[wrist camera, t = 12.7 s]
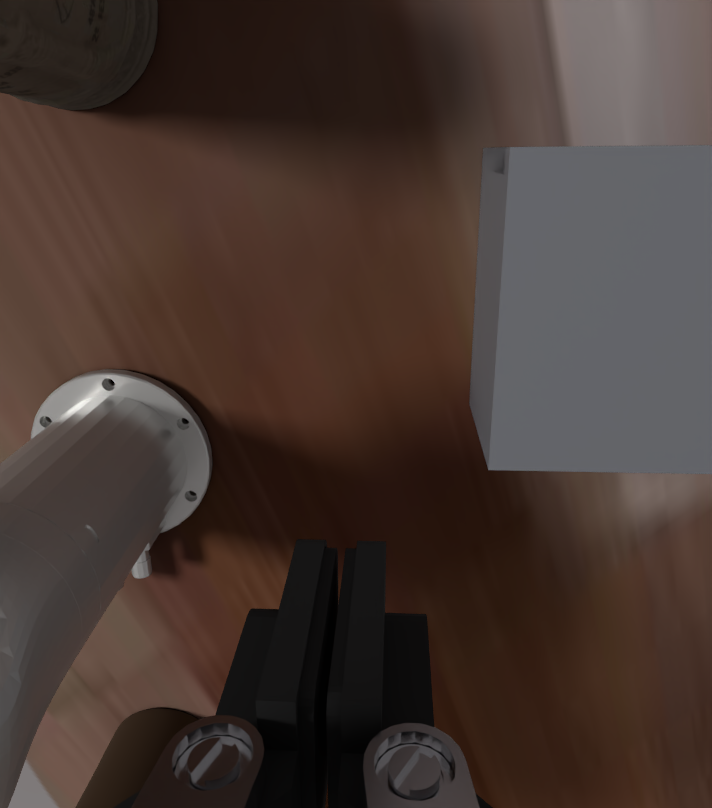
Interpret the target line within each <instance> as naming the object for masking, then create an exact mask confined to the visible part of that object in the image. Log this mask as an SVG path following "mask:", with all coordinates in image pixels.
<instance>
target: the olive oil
mask: <svg viewBox="0 0 712 808" xmlns="http://www.w3.org/2000/svg"><path fill="white" fill-rule="evenodd" d="M197 720H198V719H197V718H195V717H193V716H191V715H189V714H186V713H184V712H181V711H177V710H173V709H165V708H155V709H147V710H143V711H140V712H137V713H135V714H133V715H131V716H129V717H128V718H127V719H125V720H124V721H123V722H122V723H121V725H120V726H119V727H118V729H117V730H116V732H115V734H114V736H113V738H112V740H111V742H110V744H109V745H108V747H107V749H106V751H105V753H104V755H103V757H102V759H101V761H100V763H99V765H98V767H97V769H96V770H95V772H94V774H93V776H92V778H91V780H90V782H89V784H88V786H87V787H86V789H85V791H84V793H83V795H82V797H81V798H80V800H79V802H78V804H77V806H76V808H113V807H115V806H116V805H118V804H120V803H121V802H123V801H124V800H126V799H127V798H129V797H131V796H132V795H134V794H135V793H137V792H139V791H140V790H141V789H142V787H143V785H144V784H145V782H146V780H147V778H148V777H149V775H150V773H151V771H152V770H153V768H154V766H155V764H156V763H157V761H158V759H159V757H160V756H161V754H162V752H163V750H164V749H165V747H166V745H167V744H168V743H169V742H170V740H171V739H172V738H173V736H174V735H175V734H176V733H178V732H179V731H180V730H181V729H183V728H184V727H185V726H187V725H188V724H190V723H193V722H195V721H197Z"/></svg>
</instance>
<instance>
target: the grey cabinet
mask: <svg viewBox="0 0 712 808" xmlns="http://www.w3.org/2000/svg"><path fill="white" fill-rule="evenodd" d="M469 404H470V408H471V411H472V415H473V418H474V422H475V425H476V429H477V432H478V436H479V439H480V443H481V446H482V450H483V453H484V457H485V460H486V464H487V467H488V470H512V471H570V472H627V473H685V474H712V145H688V146H582V147H499V148H483V161H482V180H481V198H480V216H479V235H478V253H477V272H476V290H475V309H474V327H473V345H472V364H471V382H470V401H469Z"/></svg>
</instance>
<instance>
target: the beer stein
mask: <svg viewBox="0 0 712 808" xmlns="http://www.w3.org/2000/svg"><path fill="white" fill-rule="evenodd" d="M157 22H158V3H157V0H0V92H1V93H6V94H10V95H12V96H14V97H16V98H18V99H21V100H24V101H28V102H32V103H36V104H41V105H49V106H52V107H56V108H60V109H67V110H84V109H92V108H95V107H99V106H102V105H106V104H108V103H110V102H111V101H113V100H115V99H116V98H118V97H119V96H121V95H123V94H124V93H126V92H127V91H128V90H129V89H130V88H131V87H132V85H133V84H134V83H135V82H136V81H137V80H138V79H139V77H140V76H141V75H142V73H143V72H144V71H145V69H146V66H147V64H148V62H149V60H150V58H151V55H152V53H153V51H154V46H155V41H156V36H157Z"/></svg>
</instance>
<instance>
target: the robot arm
mask: <svg viewBox="0 0 712 808" xmlns="http://www.w3.org/2000/svg"><path fill="white" fill-rule="evenodd" d="M110 379H111V380H113V381H114V383H115V384H114V383H112V382H111V380H110ZM184 418H185V419H187V420H188V421H189V422H186V421H185V420H184ZM212 465H213V462H212V451H211V445H210V442H209V439H208V435H207V432H206V430H205V428H204V426H203V424H202V423H201V421H200V419H199V417H198V416H197V414H196V413H195V412H194V410H193V409H192V408H191V407H190V405H189V404H188V403H187V402H186V401H185V400H184V399H183V398H182V397H181V396H179V395H178V394H177V393H176V392H175V391H174V390H172V389H170V388H169V387H167V386H166V385H164V384H163V383H161V382H160V381H157V380H155V379H153V378H150V377H148V376H146V375H143V374H140V373H135V372H131V371H127V370H114V369H105V370H98V371H91V372H88V373H85V374H82V375H79V376H76V377H74V378H73V379H71V380H69V381H68V382H66V383H64V384H63V385H61V386H60V387H59V388H58V389H56V390H55V391H54V392H53V393H51V394H50V395H49V397H48V398H47V399H46V400H45V402H44V403H43V404H42V405H41V407H40V409H39V411H38V412H37V414H36V416H35V419H34V423H33V428H32V432H31V440H30V441H28V442H27V443H26V444H25V445H23V446H22V447H21V448H20V449H18V450H17V451H16V452H15V453H13V454H12V455H11V456H9V457H8V458H7V459H6V460H4V461H3V462H2V463H1V464H0V808H8V806H9V803H10V801H11V798H12V796H13V793H14V790H15V787H16V785H17V782H18V779H19V776H20V774H21V771H22V768H23V765H24V762H25V760H26V757H27V754H28V751H29V749H30V746H31V744H32V741H33V739H34V736H35V734H36V731H37V729H38V727H39V725H40V722H41V720H42V718H43V716H44V714H45V712H46V710H47V708H48V706H49V704H50V702H51V700H52V698H53V696H54V695H55V693H56V691H57V689H58V687H59V685H60V684H61V682H62V680H63V678H64V677H65V675H66V673H67V672H68V670H69V668H70V667H71V665H72V663H73V662H74V660H75V658H76V657H77V655H78V654H79V652H80V650H81V649H82V647H83V646H84V644H85V642H86V641H87V639H88V638H89V636H90V634H91V633H92V631H93V630H94V628H95V627H96V625H97V623H98V622H99V620H100V619H101V617H102V615H103V614H104V612H105V611H106V609H107V608H108V606H109V604H110V603H111V601H112V600H113V598H114V597H115V595H116V593H117V592H118V591H119V590H120V589H121V588H122V587H123V586H124V581H125V579H126V578H127V576H128V574H129V573H130V571H131V570H132V575H133V576H134V577H135V578H145V577H147V576H149V575H150V574H151V573H152V565H151V557H150V555H149V549H150V548H151V546H152V545H153V543H154V541H155V540H156V538H157V536H158V535H159V533H163V532H166V531H168V530H170V529H172V528H174V527H176V526H178V525H179V524H181V523H182V522H183V521H184V520H185V519H187V518H188V517H189V516H190V515H191V514H192V513H193V512H194V510H195V509H196V508H197V507H198V505H199V504H200V502H201V500H202V499H203V497H204V495H205V493H206V491H207V488H208V485H209V482H210V479H211V473H212ZM192 491H194V492H195V493H193V492H192ZM385 579H386V542H380V541H357V549H352V548H346V550H345V558H344V566H343V574H342V582H341V589H340V597H339V605H338V552H337V548H327V542H326V540H306V539H298V540H297V541H296V545H295V549H294V552H293V556H292V560H291V564H290V568H289V572H288V576H287V580H286V584H285V588H284V591H283V595H282V599H281V603H280V607H279V609H251V610H250V611H249V613H248V616H247V618H246V622H245V625H244V628H243V631H242V634H241V637H240V640H239V643H238V646H237V650H236V653H235V656H234V659H233V662H232V665H231V668H230V671H229V675H228V678H227V681H226V684H225V687H224V690H223V693H222V696H221V699H220V703H219V706H218V709H217V712H216V715H215V716H210V717H205V718H201V719H199V720H197V721H195V722H193V723H190V724H188V725H187V726H185V727H184V728H183V729H181V730H180V731H179V732H178V733H176V734H175V735H174V736H173V738H172V739H171V740H170V742H169V743H168V744H167V745H166V747H165V749H164V750H163V752H162V754H161V756H160V757H159V759H158V761H157V763H156V764H155V766H154V768H153V770H152V771H151V773H150V775H149V777H148V778H147V780H146V782H145V784H144V785H143V787H142V789H141V790H140V791H139V792H137V793H135V794H134V795H132V796H131V797H129V798H127V799H126V800H124V801H123V802H121V803H120V804H118V805H116V806H115V807H113V808H325V802H326V792H327V783H328V804H329V808H492V807H491V806H490V805H489V804H487V803H486V802H485V801H484V800H483V799H482V798H480V797H479V796H478V795H477V794H476V793H475V790H474V787H473V783H472V780H471V776H470V773H469V770H468V766H467V763H466V759H465V757H464V755H463V753H462V751H461V749H460V747H459V746H458V745H457V744H456V743H455V741H454V740H453V739H452V738H451V737H450V736H449V735H447V734H445V733H444V732H442V731H440V730H439V729H437V728H435V727H434V717H433V702H432V686H431V671H430V656H429V640H428V625H427V615H426V614H402V613H385Z"/></svg>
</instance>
